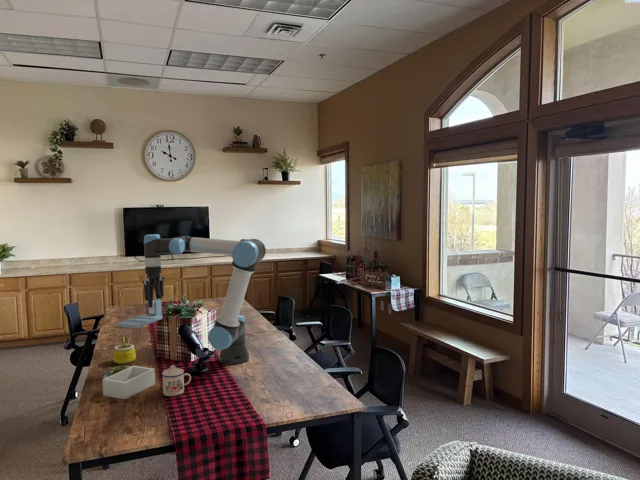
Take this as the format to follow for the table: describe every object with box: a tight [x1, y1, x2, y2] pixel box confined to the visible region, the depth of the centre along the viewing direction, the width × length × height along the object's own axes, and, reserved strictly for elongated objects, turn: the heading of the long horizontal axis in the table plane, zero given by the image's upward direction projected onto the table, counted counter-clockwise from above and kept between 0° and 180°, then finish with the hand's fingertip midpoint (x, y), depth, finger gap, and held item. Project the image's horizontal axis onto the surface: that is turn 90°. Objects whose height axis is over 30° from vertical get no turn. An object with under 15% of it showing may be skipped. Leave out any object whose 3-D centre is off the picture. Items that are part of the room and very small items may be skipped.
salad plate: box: [103, 365, 132, 379], centre depth 229 cm, size 19×18×5 cm
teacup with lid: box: [161, 364, 192, 397], centre depth 208 cm, size 12×9×12 cm
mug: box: [112, 335, 137, 365], centre depth 250 cm, size 13×11×12 cm
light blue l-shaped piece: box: [115, 299, 164, 329], centre depth 233 cm, size 12×22×9 cm, turn 161°
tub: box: [102, 365, 156, 400], centre depth 212 cm, size 12×18×7 cm, turn 159°
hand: (155, 312), depth 242 cm, fingers closed on light blue l-shaped piece, 4 cm apart
